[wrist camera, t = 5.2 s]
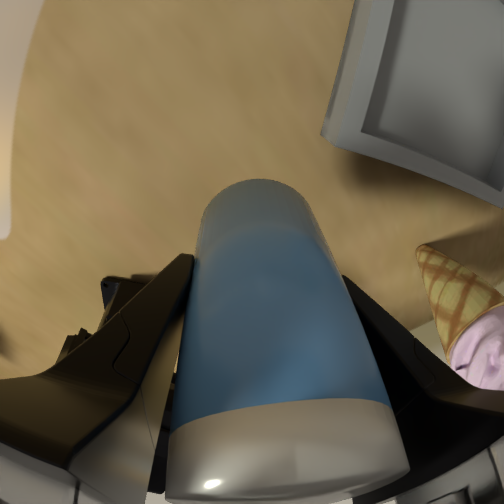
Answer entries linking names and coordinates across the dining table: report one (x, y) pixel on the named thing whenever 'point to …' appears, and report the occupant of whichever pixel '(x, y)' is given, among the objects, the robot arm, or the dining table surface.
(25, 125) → the dining table surface
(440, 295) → the ice cream cone
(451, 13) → the tray
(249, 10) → the dining table surface
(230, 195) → the cylinder
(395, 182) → the dining table surface
